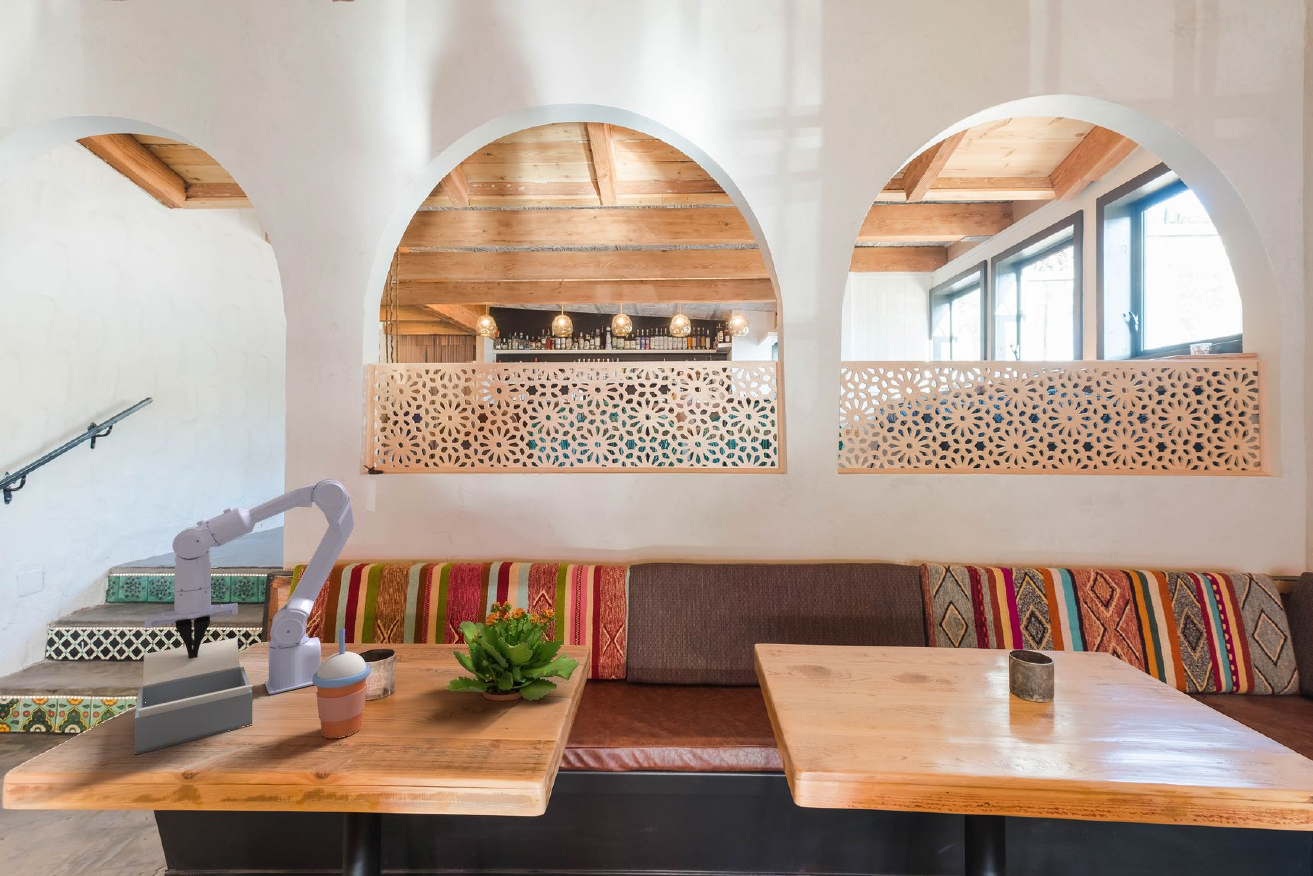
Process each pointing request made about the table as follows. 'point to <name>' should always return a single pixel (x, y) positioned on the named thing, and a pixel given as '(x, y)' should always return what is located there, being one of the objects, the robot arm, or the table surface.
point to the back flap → (190, 662)
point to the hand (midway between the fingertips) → (192, 656)
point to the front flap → (193, 701)
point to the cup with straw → (341, 691)
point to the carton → (191, 710)
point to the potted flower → (511, 656)
